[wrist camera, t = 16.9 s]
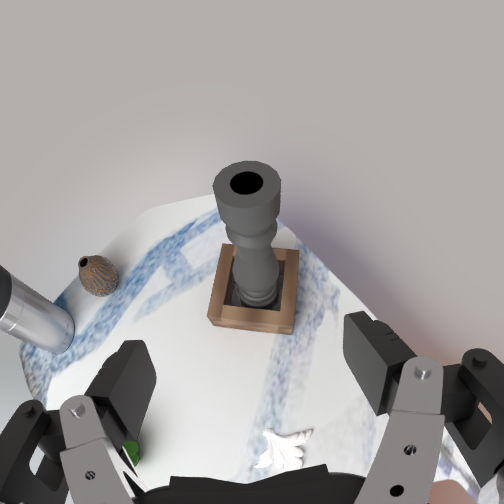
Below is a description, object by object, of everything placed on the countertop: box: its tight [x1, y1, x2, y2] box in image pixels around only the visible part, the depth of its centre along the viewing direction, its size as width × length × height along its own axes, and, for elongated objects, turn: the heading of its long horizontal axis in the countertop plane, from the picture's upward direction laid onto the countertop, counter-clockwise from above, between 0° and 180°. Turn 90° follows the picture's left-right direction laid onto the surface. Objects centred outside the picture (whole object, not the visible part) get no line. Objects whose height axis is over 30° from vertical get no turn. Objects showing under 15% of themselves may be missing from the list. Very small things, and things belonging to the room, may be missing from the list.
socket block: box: [207, 244, 299, 335], centre depth 42 cm, size 12×12×5 cm
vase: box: [78, 255, 118, 296], centre depth 42 cm, size 7×7×9 cm
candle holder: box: [213, 161, 281, 310], centre depth 33 cm, size 6×6×25 cm
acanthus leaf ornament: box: [255, 429, 312, 471], centre depth 31 cm, size 8×7×2 cm
